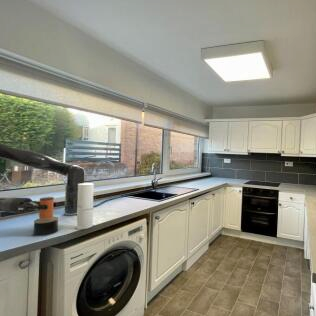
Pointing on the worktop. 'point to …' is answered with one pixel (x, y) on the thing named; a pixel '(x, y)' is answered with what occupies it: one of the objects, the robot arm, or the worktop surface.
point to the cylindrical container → (85, 205)
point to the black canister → (45, 226)
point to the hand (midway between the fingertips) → (52, 205)
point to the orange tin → (49, 211)
